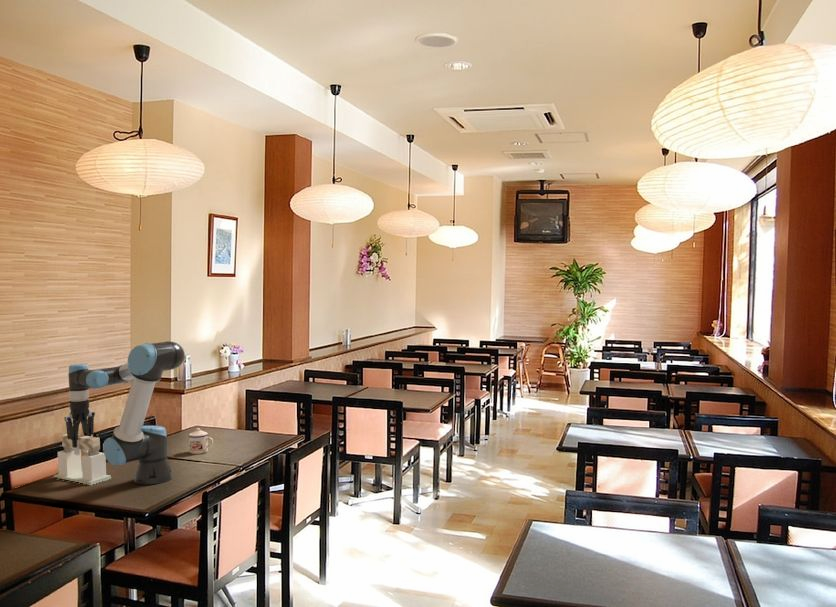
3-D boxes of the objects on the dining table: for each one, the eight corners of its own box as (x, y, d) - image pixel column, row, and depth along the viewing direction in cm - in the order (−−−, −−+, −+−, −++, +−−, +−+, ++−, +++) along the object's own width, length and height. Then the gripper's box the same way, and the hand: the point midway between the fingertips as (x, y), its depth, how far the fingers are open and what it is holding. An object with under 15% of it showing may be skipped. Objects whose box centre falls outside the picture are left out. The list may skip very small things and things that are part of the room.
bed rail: (100, 458, 298) (99, 437, 297) (93, 460, 295) (92, 439, 294) (69, 453, 307) (69, 433, 307) (62, 455, 304) (61, 435, 304)
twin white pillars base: (111, 479, 300) (110, 452, 300) (90, 485, 291) (89, 458, 291) (74, 472, 311) (73, 447, 311) (53, 478, 302) (52, 452, 302)
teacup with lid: (186, 454, 340) (185, 430, 340) (193, 449, 350) (193, 426, 349) (209, 454, 339) (208, 430, 339) (216, 449, 348) (216, 426, 348)
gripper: (90, 396, 309) (92, 448, 310) (56, 402, 294) (58, 457, 295) (101, 397, 305) (103, 449, 306) (67, 403, 291) (69, 459, 292)
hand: (81, 453), depth 301 cm, fingers closed on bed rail, 3 cm apart
